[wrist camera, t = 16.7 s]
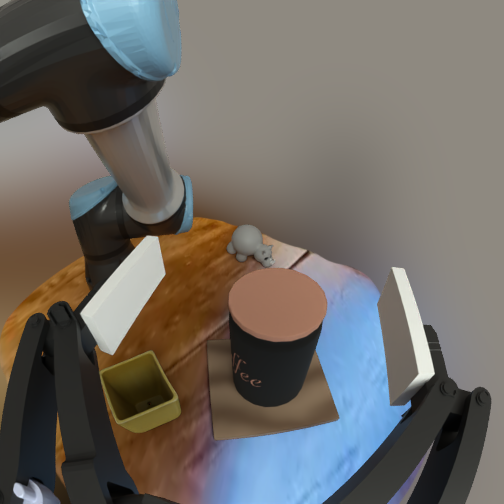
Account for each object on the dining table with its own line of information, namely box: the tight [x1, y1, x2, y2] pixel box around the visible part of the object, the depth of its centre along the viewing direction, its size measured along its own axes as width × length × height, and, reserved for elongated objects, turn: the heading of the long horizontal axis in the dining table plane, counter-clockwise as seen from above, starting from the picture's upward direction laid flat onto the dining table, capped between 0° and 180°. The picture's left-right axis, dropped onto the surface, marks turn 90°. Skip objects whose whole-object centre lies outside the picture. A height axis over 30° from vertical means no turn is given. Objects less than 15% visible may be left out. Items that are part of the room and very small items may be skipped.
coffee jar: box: [228, 268, 327, 407], centre depth 34 cm, size 11×11×18 cm
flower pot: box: [99, 350, 181, 433], centre depth 31 cm, size 9×9×9 cm
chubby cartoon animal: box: [227, 225, 275, 267], centre depth 64 cm, size 7×12×8 cm, turn 53°
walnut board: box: [207, 339, 339, 440], centre depth 39 cm, size 18×18×1 cm
